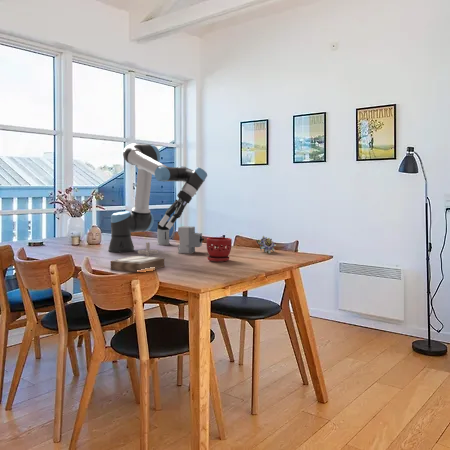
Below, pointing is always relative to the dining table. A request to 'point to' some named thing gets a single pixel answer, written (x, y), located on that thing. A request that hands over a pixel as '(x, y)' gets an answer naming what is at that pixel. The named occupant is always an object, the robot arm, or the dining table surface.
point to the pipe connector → (147, 250)
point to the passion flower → (266, 244)
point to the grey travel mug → (163, 234)
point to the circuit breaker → (189, 239)
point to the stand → (136, 263)
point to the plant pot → (218, 248)
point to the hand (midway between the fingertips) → (164, 226)
